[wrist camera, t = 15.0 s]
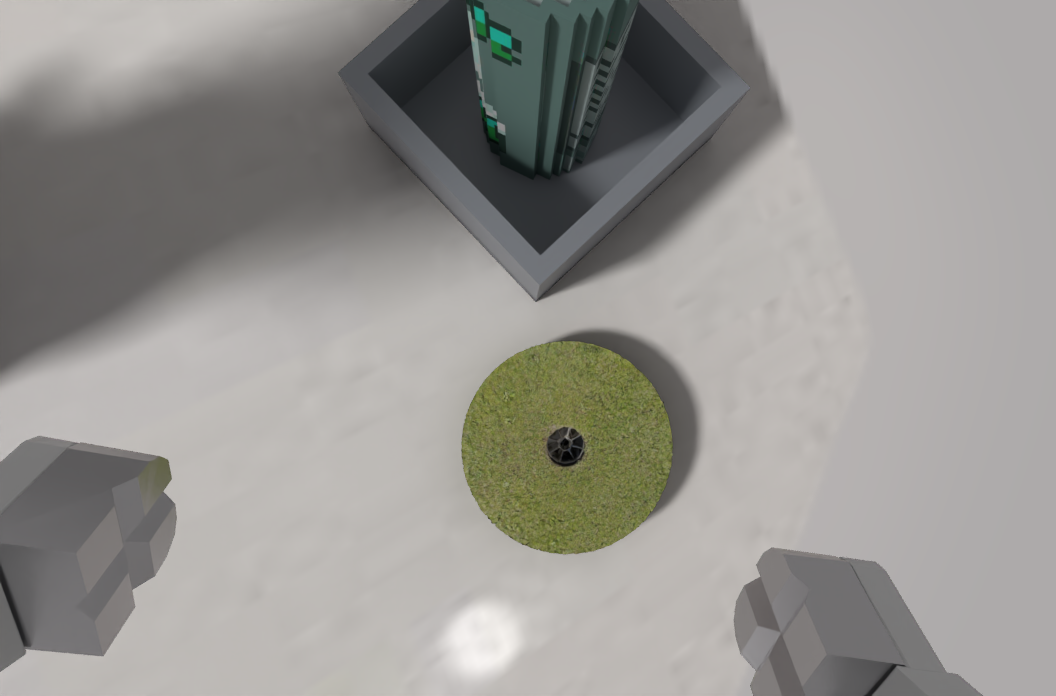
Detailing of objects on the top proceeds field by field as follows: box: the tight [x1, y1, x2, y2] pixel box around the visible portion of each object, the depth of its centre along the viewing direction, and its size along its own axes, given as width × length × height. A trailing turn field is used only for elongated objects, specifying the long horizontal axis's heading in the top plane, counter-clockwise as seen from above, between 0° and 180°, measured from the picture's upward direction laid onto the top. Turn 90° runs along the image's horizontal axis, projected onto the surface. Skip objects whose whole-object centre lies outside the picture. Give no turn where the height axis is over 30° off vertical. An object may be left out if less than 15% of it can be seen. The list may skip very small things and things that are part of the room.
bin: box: [338, 0, 750, 302], centre depth 32 cm, size 14×14×6 cm
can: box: [466, 0, 639, 180], centre depth 27 cm, size 6×6×15 cm
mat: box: [462, 341, 673, 554], centre depth 34 cm, size 11×11×2 cm
